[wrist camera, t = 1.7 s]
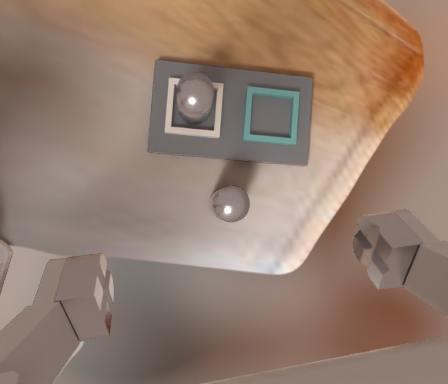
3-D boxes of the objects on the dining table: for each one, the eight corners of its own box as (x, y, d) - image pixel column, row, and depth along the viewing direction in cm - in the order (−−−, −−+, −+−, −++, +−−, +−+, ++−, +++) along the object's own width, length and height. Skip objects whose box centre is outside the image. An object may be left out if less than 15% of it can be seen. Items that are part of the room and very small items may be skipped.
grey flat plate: (303, 166, 52) (309, 164, 49) (148, 152, 49) (146, 149, 47) (309, 81, 52) (315, 75, 50) (156, 63, 50) (154, 56, 47)
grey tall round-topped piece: (208, 126, 49) (212, 111, 41) (177, 123, 48) (174, 107, 40) (211, 95, 49) (215, 74, 41) (179, 92, 49) (177, 70, 41)
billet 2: (238, 220, 50) (248, 223, 42) (208, 218, 50) (212, 220, 42) (241, 189, 51) (250, 187, 43) (210, 187, 50) (214, 184, 42)
